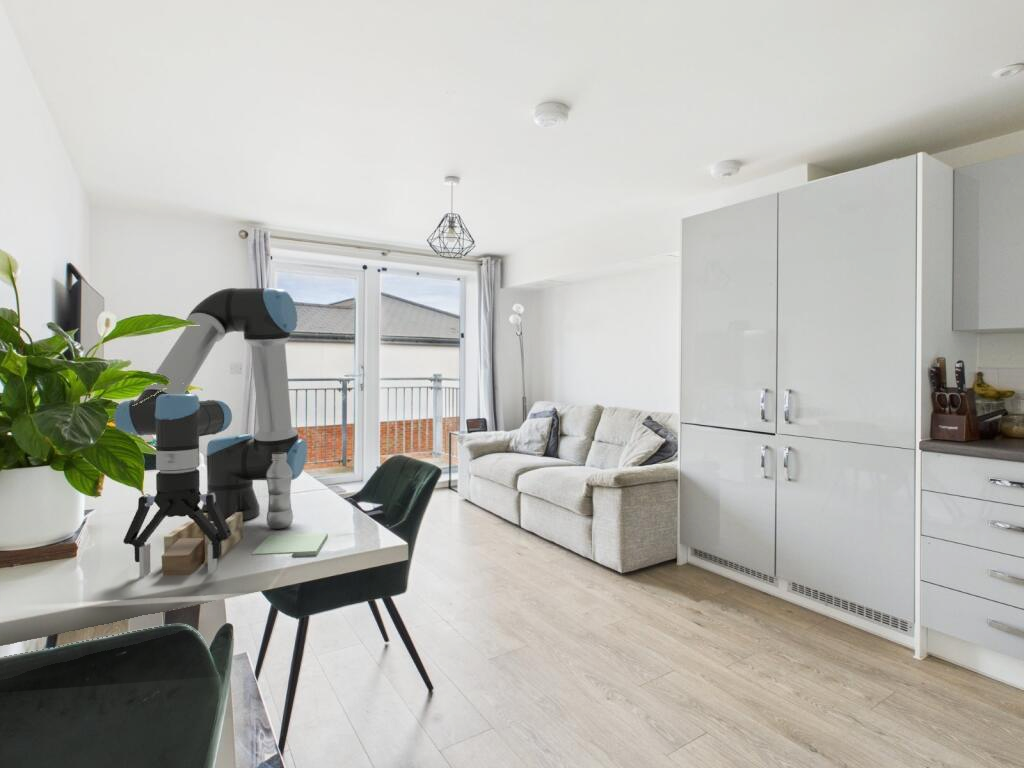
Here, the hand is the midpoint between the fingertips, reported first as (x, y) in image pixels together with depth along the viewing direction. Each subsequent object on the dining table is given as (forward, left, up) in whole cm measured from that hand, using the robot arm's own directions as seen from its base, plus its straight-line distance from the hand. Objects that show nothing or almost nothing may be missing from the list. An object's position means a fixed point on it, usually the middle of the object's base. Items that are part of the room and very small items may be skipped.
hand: (179, 575), depth 112 cm
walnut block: (-3, 0, 0) cm, 3 cm away
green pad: (-17, +18, 0) cm, 24 cm away
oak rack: (-14, 0, 0) cm, 14 cm away
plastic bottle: (-34, +11, 0) cm, 35 cm away
